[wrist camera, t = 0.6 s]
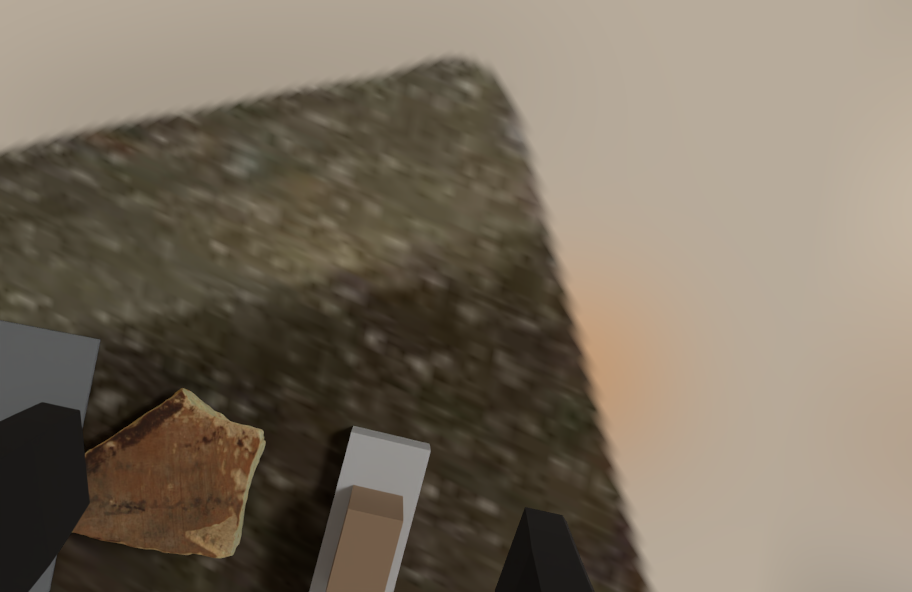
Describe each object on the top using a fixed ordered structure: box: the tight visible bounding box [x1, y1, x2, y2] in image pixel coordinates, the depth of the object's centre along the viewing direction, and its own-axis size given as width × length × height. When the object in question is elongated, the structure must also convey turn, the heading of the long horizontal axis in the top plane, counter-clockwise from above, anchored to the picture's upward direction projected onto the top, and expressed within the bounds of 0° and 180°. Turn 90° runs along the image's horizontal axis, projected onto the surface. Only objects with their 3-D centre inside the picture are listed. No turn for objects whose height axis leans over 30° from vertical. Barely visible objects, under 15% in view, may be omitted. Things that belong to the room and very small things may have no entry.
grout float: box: [309, 426, 431, 592], centre depth 29 cm, size 10×4×4 cm, turn 165°
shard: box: [72, 388, 266, 558], centre depth 28 cm, size 11×8×2 cm
